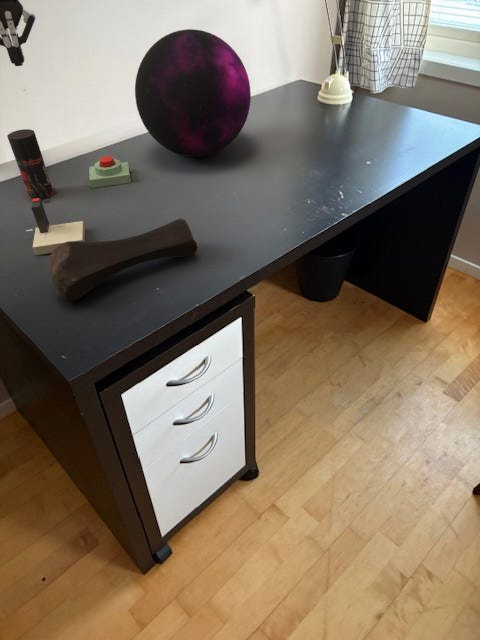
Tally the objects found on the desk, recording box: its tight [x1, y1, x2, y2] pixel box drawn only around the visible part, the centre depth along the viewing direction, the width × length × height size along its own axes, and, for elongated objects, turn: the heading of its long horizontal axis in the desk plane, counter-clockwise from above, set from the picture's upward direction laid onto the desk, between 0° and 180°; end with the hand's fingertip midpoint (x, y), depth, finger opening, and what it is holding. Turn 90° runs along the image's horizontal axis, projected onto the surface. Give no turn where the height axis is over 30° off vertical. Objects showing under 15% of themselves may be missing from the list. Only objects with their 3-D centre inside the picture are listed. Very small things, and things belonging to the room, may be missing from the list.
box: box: [88, 158, 132, 189], centre depth 123 cm, size 10×8×4 cm
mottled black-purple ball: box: [134, 28, 252, 158], centre depth 125 cm, size 30×30×30 cm
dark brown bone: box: [48, 217, 199, 303], centre depth 91 cm, size 11×10×28 cm
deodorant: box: [7, 128, 55, 201], centre depth 114 cm, size 6×6×15 cm
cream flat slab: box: [25, 220, 86, 256], centre depth 102 cm, size 12×11×2 cm
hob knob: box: [30, 198, 50, 233], centre depth 100 cm, size 4×2×6 cm, turn 14°
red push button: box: [98, 155, 115, 168], centre depth 121 cm, size 4×4×2 cm
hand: (19, 65), depth 108 cm, fingers closed
